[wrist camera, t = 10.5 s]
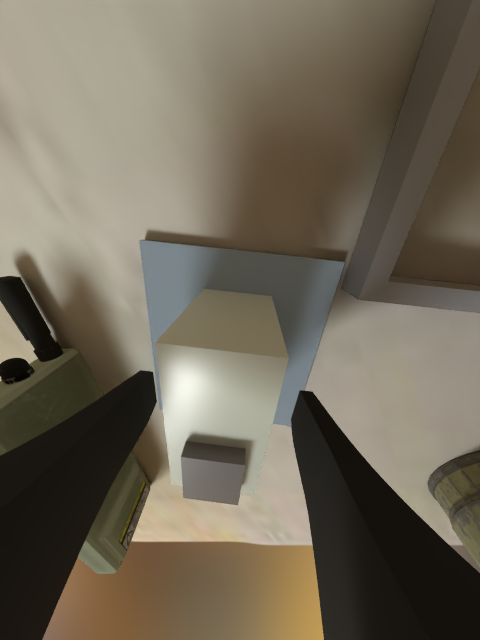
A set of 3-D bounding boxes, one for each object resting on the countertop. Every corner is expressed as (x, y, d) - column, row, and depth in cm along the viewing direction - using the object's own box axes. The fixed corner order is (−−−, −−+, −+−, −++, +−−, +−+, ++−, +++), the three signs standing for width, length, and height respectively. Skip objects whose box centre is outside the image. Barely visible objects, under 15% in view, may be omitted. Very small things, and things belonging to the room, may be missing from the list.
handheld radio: (129, 483, 23) (2, 275, 12) (156, 483, 23) (49, 270, 12) (88, 574, 17) (-229, 315, 6) (123, 575, 17) (-144, 308, 6)
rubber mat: (341, 260, 10) (345, 262, 10) (291, 420, 16) (292, 426, 16) (144, 239, 11) (139, 240, 10) (162, 404, 16) (159, 409, 16)
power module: (271, 296, 11) (292, 371, 5) (254, 396, 14) (254, 513, 8) (203, 288, 11) (144, 354, 5) (202, 390, 15) (166, 501, 9)
